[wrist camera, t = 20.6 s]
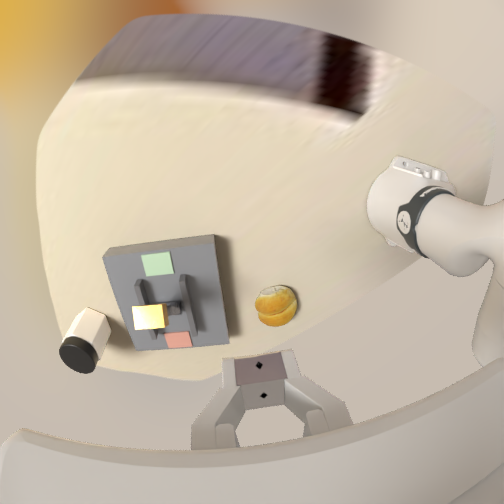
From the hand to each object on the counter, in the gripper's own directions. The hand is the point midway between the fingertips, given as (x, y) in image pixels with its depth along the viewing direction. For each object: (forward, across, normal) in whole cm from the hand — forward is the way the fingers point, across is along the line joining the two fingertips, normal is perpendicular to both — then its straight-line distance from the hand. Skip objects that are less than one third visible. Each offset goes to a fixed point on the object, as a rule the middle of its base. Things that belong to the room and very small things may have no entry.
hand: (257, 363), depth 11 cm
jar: (+38, -34, -25) cm, 57 cm away
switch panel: (+38, -14, -19) cm, 45 cm away
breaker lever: (+34, -14, -20) cm, 41 cm away
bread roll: (+39, +7, -25) cm, 47 cm away
